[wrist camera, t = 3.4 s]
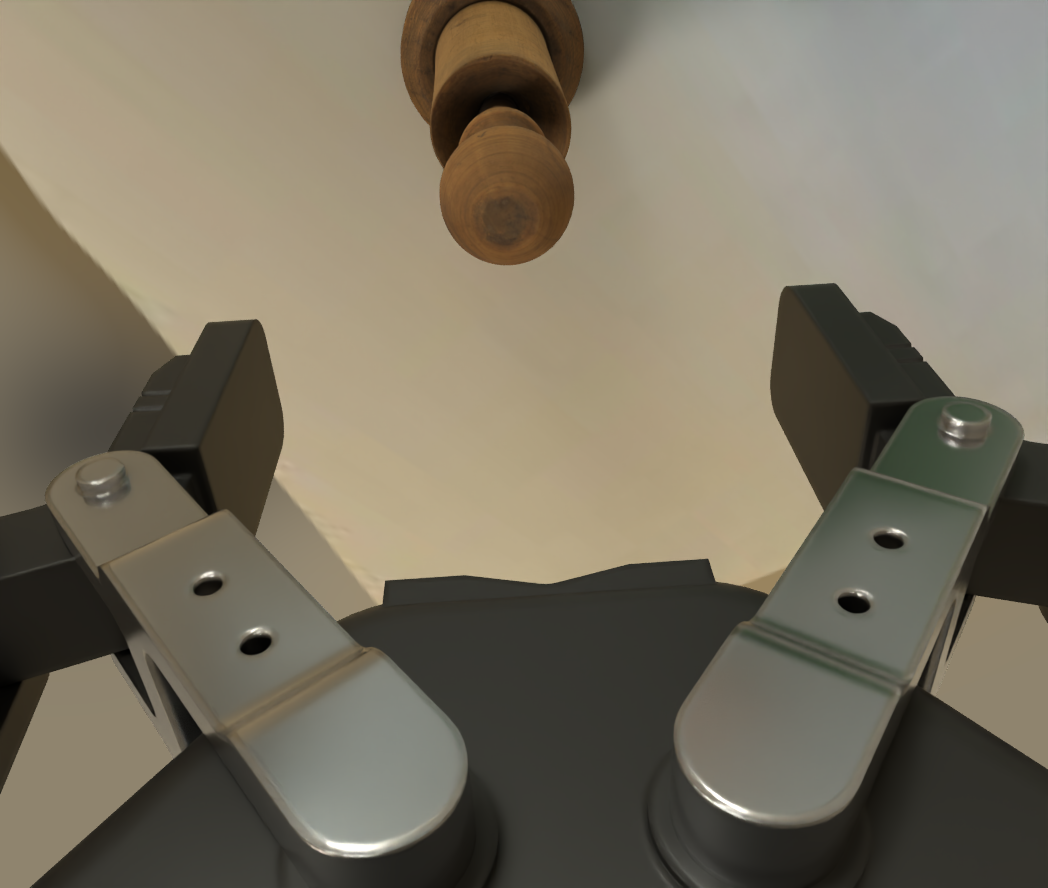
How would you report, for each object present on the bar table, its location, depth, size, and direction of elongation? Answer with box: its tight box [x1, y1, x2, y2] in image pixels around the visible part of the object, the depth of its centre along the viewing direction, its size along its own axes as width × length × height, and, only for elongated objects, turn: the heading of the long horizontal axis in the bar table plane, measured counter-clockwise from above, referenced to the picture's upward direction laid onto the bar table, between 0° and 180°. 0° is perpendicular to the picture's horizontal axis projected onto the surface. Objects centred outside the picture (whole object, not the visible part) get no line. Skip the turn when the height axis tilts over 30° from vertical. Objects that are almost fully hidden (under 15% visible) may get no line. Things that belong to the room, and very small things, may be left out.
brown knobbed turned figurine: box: [401, 0, 584, 265], centre depth 27 cm, size 7×6×18 cm
